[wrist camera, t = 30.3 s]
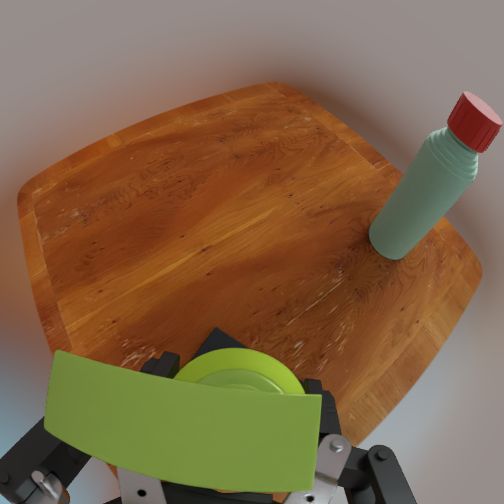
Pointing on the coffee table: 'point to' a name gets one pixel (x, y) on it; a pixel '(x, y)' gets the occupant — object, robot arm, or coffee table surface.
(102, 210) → the coffee table surface
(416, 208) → the bottle
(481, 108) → the cap
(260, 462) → the soap dispenser
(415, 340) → the coffee table surface
